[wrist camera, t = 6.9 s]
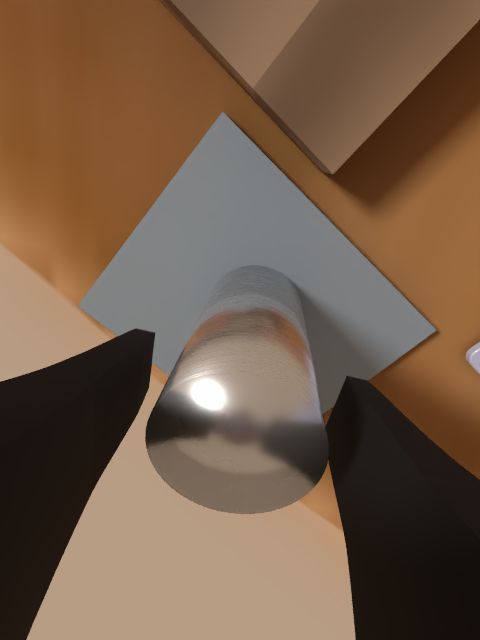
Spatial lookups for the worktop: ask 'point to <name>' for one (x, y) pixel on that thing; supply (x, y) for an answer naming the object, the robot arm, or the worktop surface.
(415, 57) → the bore block
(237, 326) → the plug
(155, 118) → the worktop surface
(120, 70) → the worktop surface
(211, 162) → the mat
